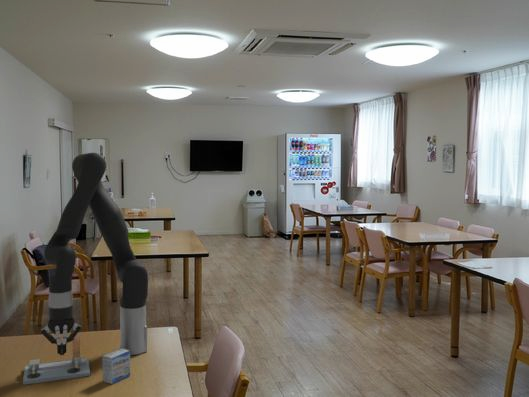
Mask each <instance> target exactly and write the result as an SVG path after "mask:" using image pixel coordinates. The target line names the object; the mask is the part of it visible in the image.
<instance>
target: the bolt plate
mask: <svg viewBox="0 0 529 397" xmlns="http://www.w3.org/2000/svg"><path fill="white" fill-rule="evenodd" d="M89 361H90V360H89V358H81V363H79V364H78V369H77V370H76V369H75V364H72V359H71V360H63V361H55V362H48V363H40V367H39V370H35V375H34V376H33V375H32V371H29V365H25V366H24V372H23V376H22V377H23V378H22V386H25V385H31V384H39V383H40V384H41V383H45V382H47V383H48V382H54V381H60V380H68V379H77V378H82V377H83V378H84V377H90V376H91V371H90V370H91V369H90V362H89Z"/></svg>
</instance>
